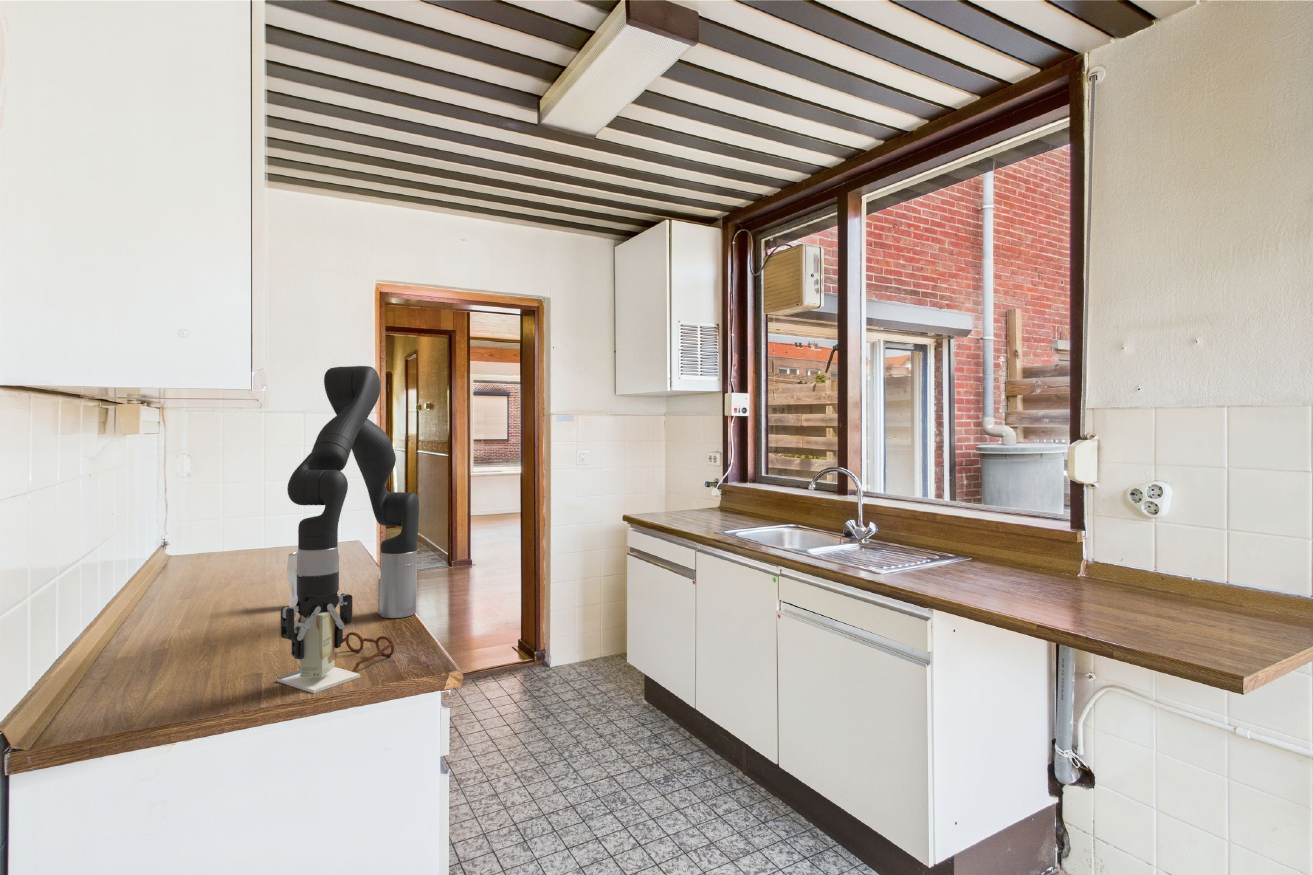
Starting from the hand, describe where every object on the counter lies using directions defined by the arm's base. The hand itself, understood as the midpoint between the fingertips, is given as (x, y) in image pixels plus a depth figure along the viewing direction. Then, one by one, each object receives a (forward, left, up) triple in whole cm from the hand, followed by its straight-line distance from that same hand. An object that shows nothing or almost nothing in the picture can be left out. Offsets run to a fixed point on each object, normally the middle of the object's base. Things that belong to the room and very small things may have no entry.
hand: (317, 652), depth 134 cm
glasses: (-5, +10, -6) cm, 13 cm away
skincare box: (0, 0, -4) cm, 4 cm away
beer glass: (-58, +33, -6) cm, 67 cm away
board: (-1, +1, -6) cm, 6 cm away
